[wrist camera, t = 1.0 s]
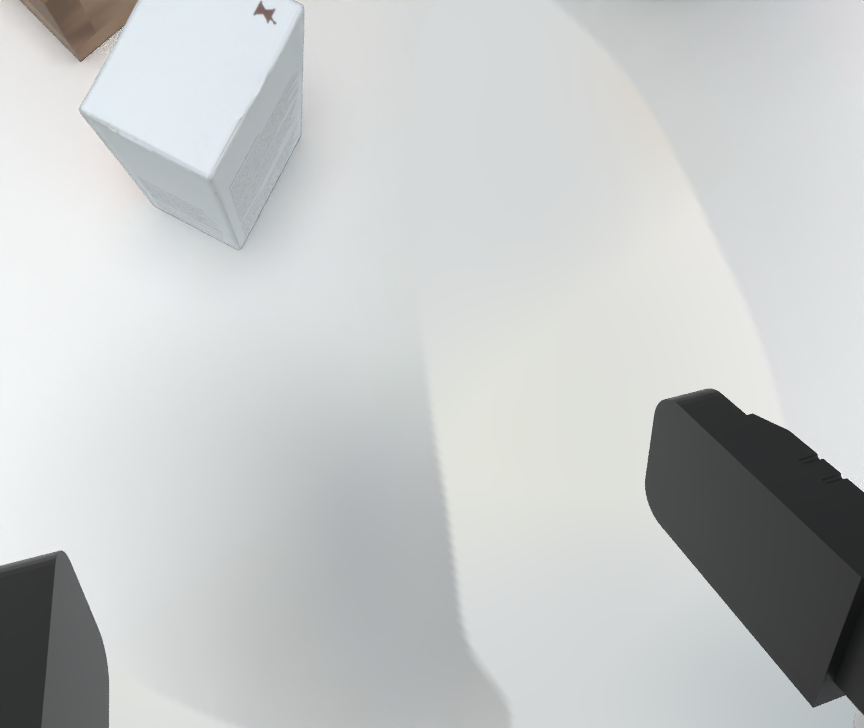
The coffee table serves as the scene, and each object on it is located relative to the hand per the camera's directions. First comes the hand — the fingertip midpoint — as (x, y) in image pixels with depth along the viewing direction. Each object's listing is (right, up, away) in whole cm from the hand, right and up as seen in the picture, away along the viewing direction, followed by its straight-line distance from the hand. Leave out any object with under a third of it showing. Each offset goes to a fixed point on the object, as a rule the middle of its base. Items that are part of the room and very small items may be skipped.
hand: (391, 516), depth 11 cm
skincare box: (-8, +10, +24) cm, 27 cm away
